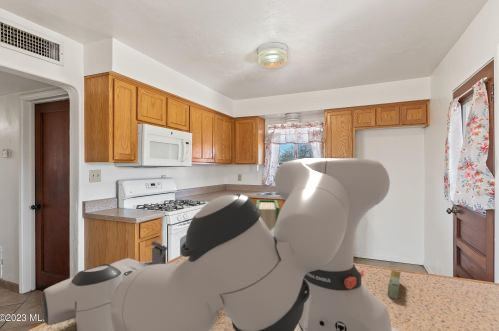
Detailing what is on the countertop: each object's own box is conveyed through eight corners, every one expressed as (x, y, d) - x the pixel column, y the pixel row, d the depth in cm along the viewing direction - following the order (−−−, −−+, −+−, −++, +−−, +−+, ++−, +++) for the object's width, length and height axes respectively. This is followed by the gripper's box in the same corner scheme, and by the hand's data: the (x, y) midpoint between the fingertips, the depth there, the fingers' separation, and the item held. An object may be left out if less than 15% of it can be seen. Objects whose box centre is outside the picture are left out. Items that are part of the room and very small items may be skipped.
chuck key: (172, 290, 78) (171, 245, 78) (159, 295, 76) (159, 248, 76) (158, 281, 84) (158, 239, 84) (146, 285, 82) (146, 242, 82)
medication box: (398, 300, 74) (399, 285, 74) (387, 297, 76) (388, 283, 75) (400, 283, 84) (400, 271, 84) (390, 281, 86) (390, 269, 86)
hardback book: (279, 283, 84) (279, 207, 84) (255, 283, 85) (255, 207, 85) (276, 262, 102) (276, 200, 102) (257, 262, 102) (257, 200, 102)
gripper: (97, 283, 76) (141, 268, 87) (138, 305, 64) (183, 284, 75) (97, 261, 76) (141, 248, 87) (138, 279, 64) (183, 261, 75)
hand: (161, 265), depth 81 cm, fingers closed on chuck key, 4 cm apart
